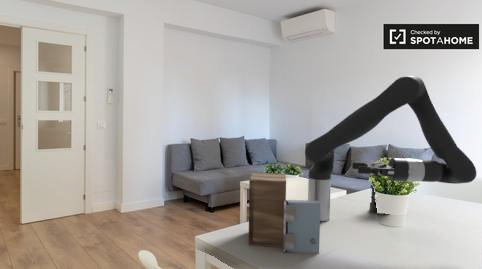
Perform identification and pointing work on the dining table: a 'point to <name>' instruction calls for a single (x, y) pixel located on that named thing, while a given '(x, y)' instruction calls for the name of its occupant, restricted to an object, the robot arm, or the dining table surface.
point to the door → (305, 226)
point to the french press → (373, 201)
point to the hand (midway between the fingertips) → (355, 167)
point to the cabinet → (269, 211)
